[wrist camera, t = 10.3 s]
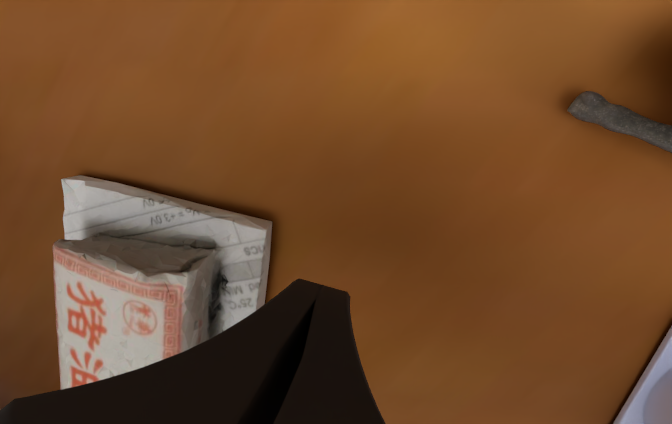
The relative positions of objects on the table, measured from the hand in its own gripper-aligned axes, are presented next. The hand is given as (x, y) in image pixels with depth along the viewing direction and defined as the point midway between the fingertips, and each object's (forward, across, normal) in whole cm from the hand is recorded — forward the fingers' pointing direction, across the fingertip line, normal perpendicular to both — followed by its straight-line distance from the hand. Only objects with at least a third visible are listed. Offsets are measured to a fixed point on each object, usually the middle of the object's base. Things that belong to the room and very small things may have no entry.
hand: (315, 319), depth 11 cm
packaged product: (+10, +8, +11) cm, 17 cm away
